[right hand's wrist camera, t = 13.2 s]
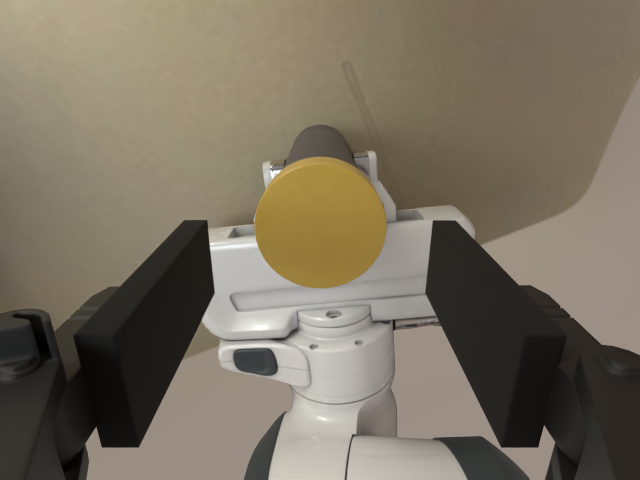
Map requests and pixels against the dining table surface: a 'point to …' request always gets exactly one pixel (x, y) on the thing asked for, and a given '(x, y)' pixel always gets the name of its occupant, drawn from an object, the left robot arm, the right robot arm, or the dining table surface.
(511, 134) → the dining table surface
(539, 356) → the right robot arm
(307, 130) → the dark grey cylinder
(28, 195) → the dining table surface
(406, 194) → the dining table surface
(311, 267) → the lid
